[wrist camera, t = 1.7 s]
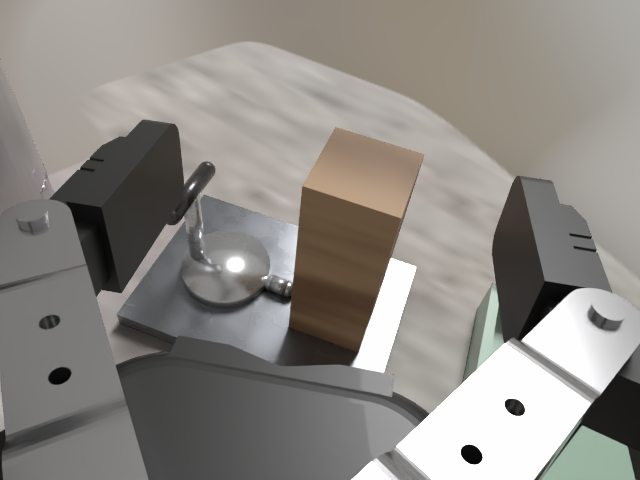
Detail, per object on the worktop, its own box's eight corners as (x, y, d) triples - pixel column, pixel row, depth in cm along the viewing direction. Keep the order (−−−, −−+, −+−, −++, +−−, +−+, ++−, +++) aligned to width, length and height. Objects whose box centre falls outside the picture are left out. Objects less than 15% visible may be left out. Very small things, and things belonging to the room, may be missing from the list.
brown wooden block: (358, 352, 32) (401, 218, 23) (288, 326, 33) (302, 186, 23) (379, 294, 35) (424, 154, 26) (314, 272, 35) (335, 127, 26)
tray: (675, 578, 27) (715, 568, 24) (442, 485, 28) (458, 467, 26) (661, 372, 34) (690, 350, 32) (477, 308, 36) (492, 283, 34)
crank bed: (368, 419, 30) (396, 353, 24) (119, 322, 33) (89, 241, 27) (413, 275, 37) (444, 196, 31) (205, 204, 40) (196, 117, 34)
